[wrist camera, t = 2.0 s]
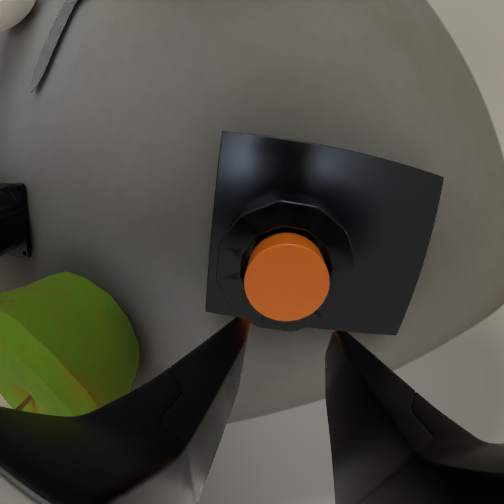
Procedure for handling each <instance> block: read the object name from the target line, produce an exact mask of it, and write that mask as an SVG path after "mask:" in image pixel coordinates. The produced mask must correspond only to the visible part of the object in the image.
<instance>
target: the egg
mask: <svg viewBox="0 0 504 504" xmlns="http://www.w3.org/2000/svg"><path fill="white" fill-rule="evenodd" d="M35 1H36V0H0V32H2V31H5V30H7V29H9V28H11V27H13V26H15V25H16V24H18V23H19V22H20V21H22V20H23V19H24V18H25V17H26V16H27V15H28V13H29V12H30V11H31V9H32V8H33V6H34V3H35Z"/></svg>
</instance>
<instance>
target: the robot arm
mask: <svg viewBox="0 0 504 504" xmlns="http://www.w3.org/2000/svg"><path fill="white" fill-rule="evenodd" d="M6 253H9V254H12V255H15V256H18V257H22V258H25V259H27V258H29V257H30V256H31V250H30V242H29V233H28V223H27V208H26V187H25V185H24V184H23V183H0V256H2V255H4V254H6ZM249 324H250V320H249V319H246V318H240V317H236V318H235V319H233V320H232V321H231V322H230V323H228V324H227V325H226V326H224V327H223V328H222V329H220V330H219V331H218V332H217V333H215V334H214V335H213V336H211V337H210V338H209V339H207V340H206V341H205V342H203V343H202V344H201V345H199V346H198V347H197V348H195V349H194V350H193V351H191V352H190V353H189V354H187V355H186V356H185V357H183V358H182V359H181V360H179V361H178V362H177V363H175V364H174V365H172V366H171V368H168V369H167V370H165V371H164V372H163V373H161V374H160V375H158V376H157V377H155V378H154V379H152V380H151V381H149V382H148V383H146V384H144V385H143V386H141V387H139V388H137V389H135V390H134V391H132V392H130V393H128V394H126V395H124V396H122V397H120V398H118V399H116V400H114V401H112V402H110V403H108V404H106V405H104V406H102V407H100V408H98V409H96V410H94V411H91V412H89V413H86V414H83V415H79V416H71V417H65V416H55V415H47V414H39V413H32V412H26V411H20V410H15V409H10V408H5V407H0V504H197V502H198V500H199V497H200V494H201V492H202V489H203V486H204V484H205V481H206V478H207V476H208V473H209V470H210V468H211V465H212V462H213V459H214V457H215V454H216V451H217V449H218V446H219V443H220V440H221V437H222V434H223V431H224V428H225V426H226V423H227V420H228V417H229V414H230V412H231V409H232V406H233V403H234V400H235V397H236V394H237V391H238V387H239V383H240V377H241V372H242V366H243V360H244V355H245V349H246V343H247V337H248V330H249ZM325 393H326V406H327V415H328V424H329V433H330V443H331V452H332V464H333V475H334V489H335V504H504V443H503V444H493V443H488V442H484V441H482V440H480V439H478V438H476V437H475V436H473V435H472V434H471V433H469V432H468V431H466V430H465V429H463V428H462V427H461V426H459V425H458V424H456V423H455V422H453V421H452V420H451V419H449V418H448V417H447V416H445V415H444V414H442V413H441V412H440V411H439V410H437V409H436V408H435V407H434V406H432V405H431V404H430V403H429V402H428V401H426V400H425V399H424V398H423V397H422V396H420V395H419V394H418V393H415V390H413V389H412V388H411V387H410V386H409V385H408V384H407V383H405V382H404V381H403V380H402V379H401V378H400V377H398V376H397V375H396V374H395V373H394V372H393V371H392V370H390V369H389V368H388V367H387V366H386V365H385V364H383V363H382V362H381V361H380V360H379V359H378V358H377V357H375V356H374V355H373V354H372V353H371V352H370V351H368V350H367V349H366V348H365V347H364V346H363V345H361V344H360V343H359V342H358V341H357V340H356V339H355V338H353V337H352V336H351V335H350V334H349V333H348V332H345V331H334V332H333V334H332V336H331V339H330V342H329V345H328V348H327V351H326V355H325Z"/></svg>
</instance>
